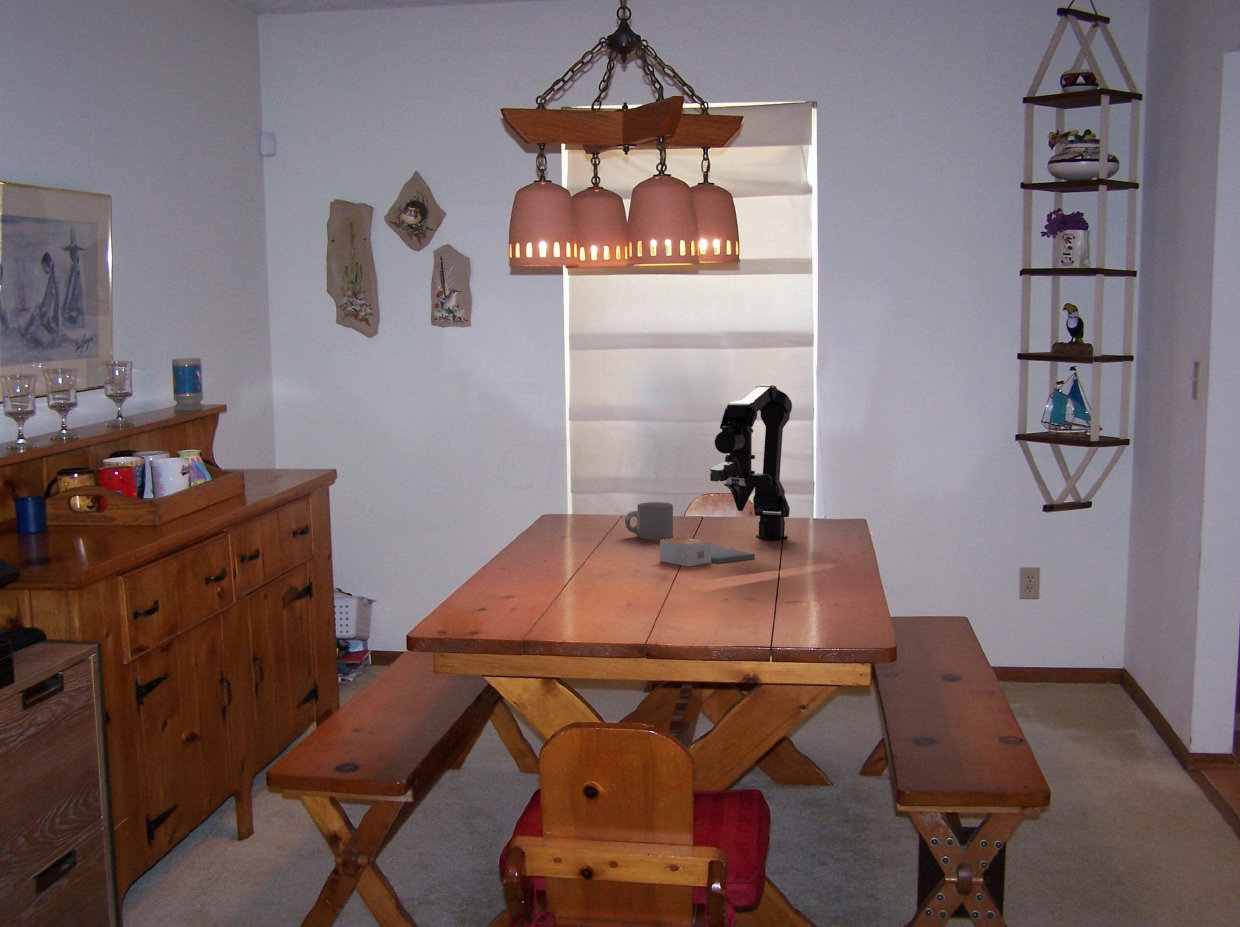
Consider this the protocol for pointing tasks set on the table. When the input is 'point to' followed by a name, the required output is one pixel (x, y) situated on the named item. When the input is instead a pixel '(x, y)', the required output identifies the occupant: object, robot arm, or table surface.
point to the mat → (728, 554)
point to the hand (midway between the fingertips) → (740, 510)
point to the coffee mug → (652, 520)
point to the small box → (685, 551)
